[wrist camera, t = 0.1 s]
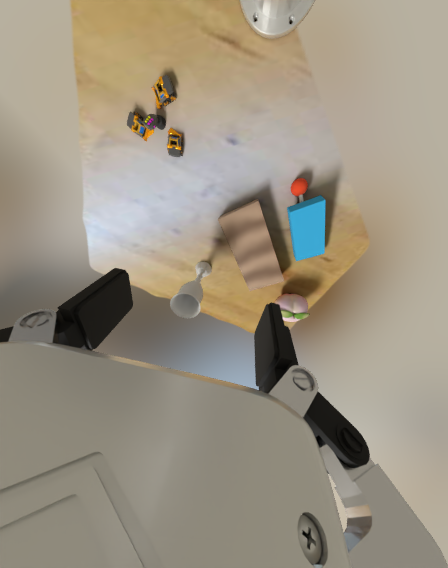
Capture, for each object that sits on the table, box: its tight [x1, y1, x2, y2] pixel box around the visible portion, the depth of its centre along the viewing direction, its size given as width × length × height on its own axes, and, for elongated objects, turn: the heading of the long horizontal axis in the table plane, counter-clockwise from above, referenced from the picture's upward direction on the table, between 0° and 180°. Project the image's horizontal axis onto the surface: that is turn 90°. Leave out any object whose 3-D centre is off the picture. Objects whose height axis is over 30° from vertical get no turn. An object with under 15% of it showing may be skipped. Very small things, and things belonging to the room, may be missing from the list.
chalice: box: [170, 262, 211, 318], centre depth 45 cm, size 7×7×18 cm
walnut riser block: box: [218, 199, 284, 291], centre depth 45 cm, size 22×10×4 cm, turn 25°
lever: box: [287, 178, 325, 261], centre depth 41 cm, size 7×7×18 cm
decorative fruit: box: [275, 294, 310, 322], centre depth 50 cm, size 9×8×10 cm
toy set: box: [127, 75, 183, 157], centre depth 33 cm, size 12×11×5 cm
